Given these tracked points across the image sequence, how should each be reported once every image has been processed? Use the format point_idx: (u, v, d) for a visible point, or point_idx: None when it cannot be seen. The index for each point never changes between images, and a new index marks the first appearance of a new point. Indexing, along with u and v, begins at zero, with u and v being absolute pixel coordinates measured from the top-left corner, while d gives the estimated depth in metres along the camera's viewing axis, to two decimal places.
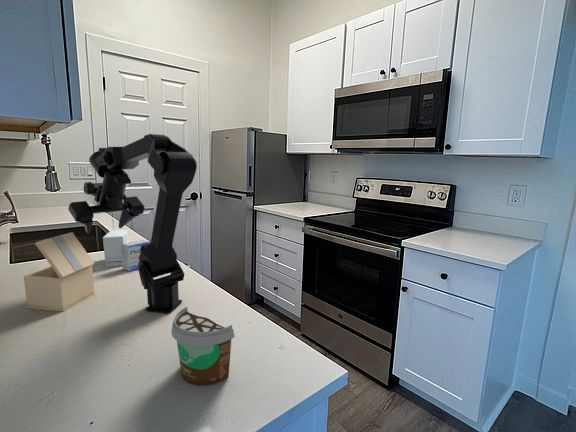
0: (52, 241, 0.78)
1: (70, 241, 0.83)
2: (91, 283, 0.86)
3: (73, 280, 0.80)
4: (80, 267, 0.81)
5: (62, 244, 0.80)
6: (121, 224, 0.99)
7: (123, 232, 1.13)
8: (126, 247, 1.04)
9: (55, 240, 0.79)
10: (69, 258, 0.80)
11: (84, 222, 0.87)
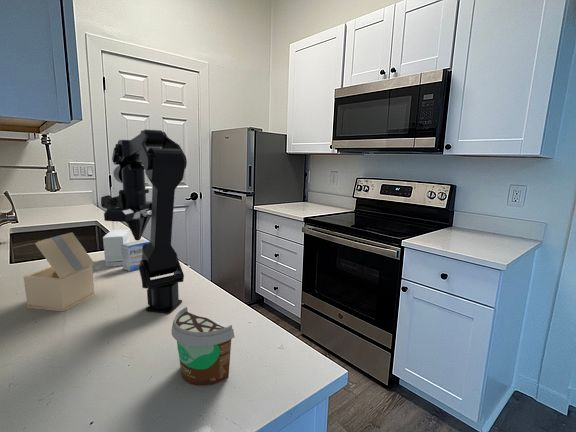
0: (52, 241, 0.78)
1: (70, 241, 0.83)
2: (91, 283, 0.86)
3: (73, 280, 0.80)
4: (80, 267, 0.81)
5: (62, 244, 0.80)
6: None
7: (123, 232, 1.13)
8: (126, 247, 1.04)
9: (55, 240, 0.79)
10: (69, 258, 0.80)
11: (139, 218, 0.89)
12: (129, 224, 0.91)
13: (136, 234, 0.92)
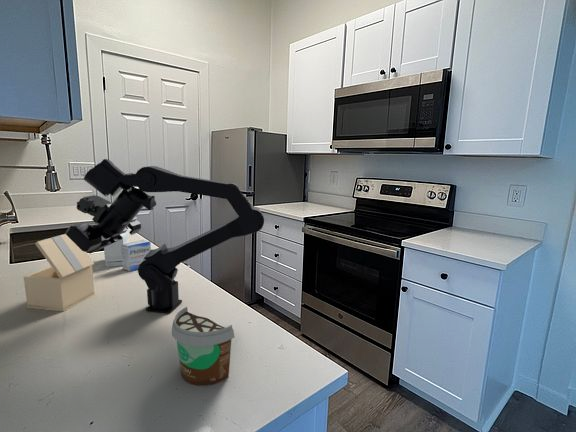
0: (52, 241, 0.78)
1: (70, 241, 0.83)
2: (91, 283, 0.86)
3: (73, 280, 0.80)
4: (80, 267, 0.81)
5: (62, 244, 0.80)
6: None
7: None
8: (126, 247, 1.04)
9: (55, 240, 0.79)
10: (69, 258, 0.80)
11: (104, 245, 0.75)
12: None
13: None
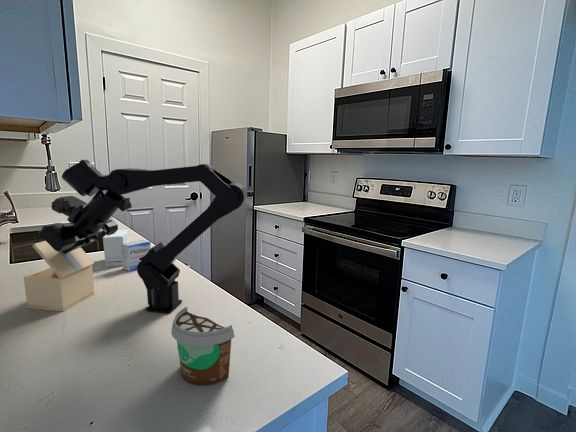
0: None
1: None
2: (91, 283, 0.86)
3: (73, 280, 0.80)
4: (80, 267, 0.81)
5: None
6: None
7: (123, 232, 1.13)
8: (126, 247, 1.04)
9: None
10: (68, 258, 0.80)
11: (79, 245, 0.76)
12: None
13: (66, 249, 0.79)
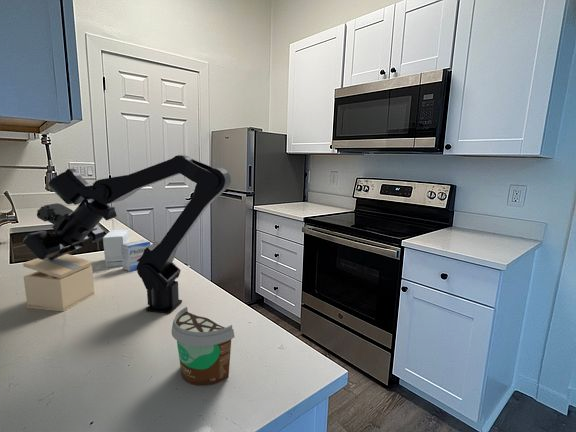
0: (39, 259, 0.80)
1: None
2: (91, 283, 0.86)
3: (73, 280, 0.80)
4: (77, 266, 0.81)
5: None
6: None
7: (123, 232, 1.13)
8: (126, 247, 1.04)
9: None
10: (63, 264, 0.80)
11: (63, 253, 0.77)
12: None
13: None
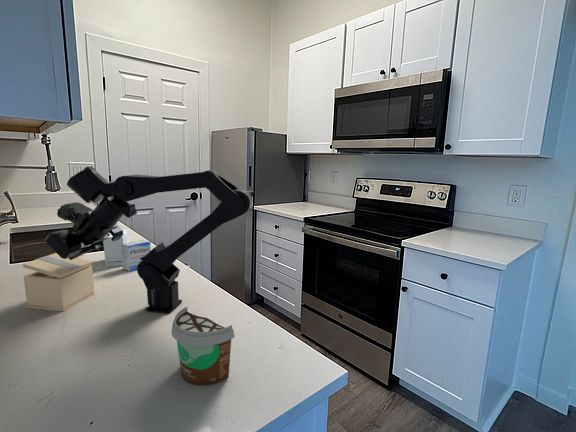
0: (39, 260, 0.80)
1: (59, 256, 0.84)
2: (91, 283, 0.86)
3: (73, 280, 0.80)
4: (77, 266, 0.81)
5: (51, 259, 0.81)
6: None
7: (123, 232, 1.13)
8: (126, 247, 1.04)
9: (42, 259, 0.81)
10: (62, 264, 0.80)
11: (84, 252, 0.76)
12: None
13: (72, 255, 0.79)
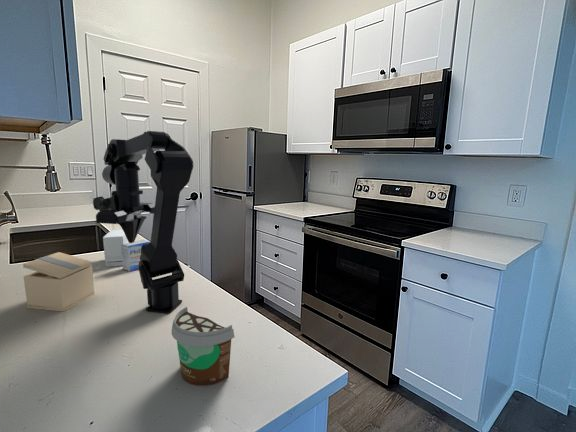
0: (39, 260, 0.80)
1: (59, 256, 0.84)
2: (91, 283, 0.86)
3: (73, 280, 0.80)
4: (77, 266, 0.81)
5: (51, 259, 0.81)
6: None
7: (123, 232, 1.13)
8: (126, 247, 1.04)
9: (42, 259, 0.81)
10: (62, 264, 0.80)
11: (132, 220, 0.86)
12: (122, 226, 0.88)
13: (130, 236, 0.89)
